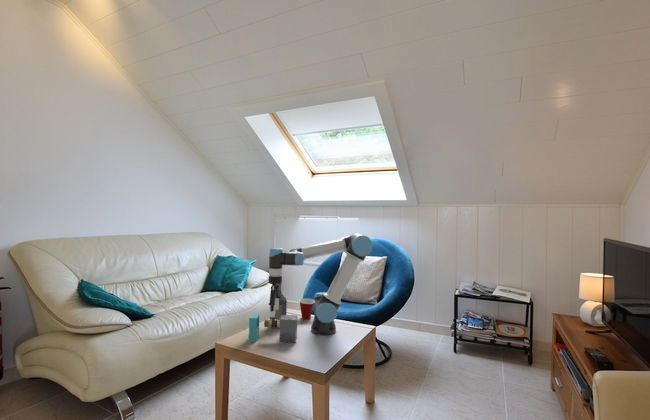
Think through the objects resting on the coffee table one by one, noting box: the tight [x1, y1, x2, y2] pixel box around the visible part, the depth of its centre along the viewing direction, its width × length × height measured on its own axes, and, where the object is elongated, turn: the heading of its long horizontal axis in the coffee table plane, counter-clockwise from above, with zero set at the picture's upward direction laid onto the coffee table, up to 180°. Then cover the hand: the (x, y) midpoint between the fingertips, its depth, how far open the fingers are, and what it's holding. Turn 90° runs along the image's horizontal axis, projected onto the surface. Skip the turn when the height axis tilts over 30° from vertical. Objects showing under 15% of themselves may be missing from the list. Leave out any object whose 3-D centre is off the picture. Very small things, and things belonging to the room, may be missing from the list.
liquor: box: [269, 281, 288, 329], centre depth 217 cm, size 9×9×30 cm
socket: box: [248, 313, 260, 343], centre depth 194 cm, size 4×8×13 cm, turn 179°
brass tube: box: [263, 319, 280, 329], centre depth 194 cm, size 18×5×5 cm, turn 89°
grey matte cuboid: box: [278, 314, 298, 344], centre depth 194 cm, size 9×8×13 cm
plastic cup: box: [298, 298, 315, 320], centre depth 234 cm, size 11×11×12 cm
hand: (274, 313), depth 194 cm, fingers open, 13 cm apart
